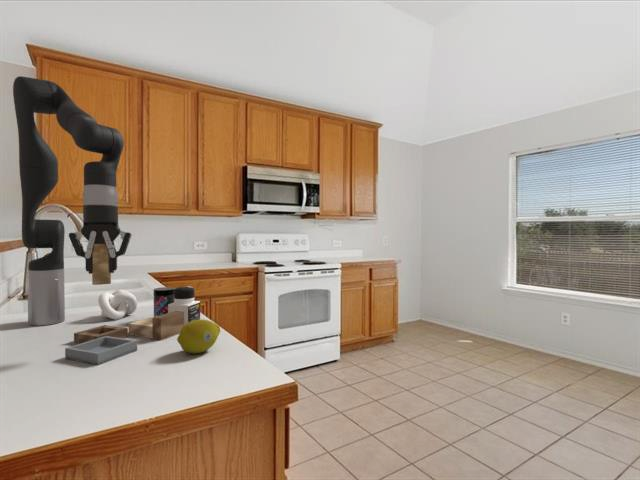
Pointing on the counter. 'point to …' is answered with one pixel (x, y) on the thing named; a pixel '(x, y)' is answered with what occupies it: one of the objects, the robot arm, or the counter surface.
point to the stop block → (167, 325)
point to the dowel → (100, 265)
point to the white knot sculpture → (117, 304)
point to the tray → (100, 350)
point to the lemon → (198, 336)
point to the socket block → (100, 333)
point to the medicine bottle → (185, 304)
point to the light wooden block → (141, 328)
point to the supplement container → (162, 300)
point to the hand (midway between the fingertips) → (101, 272)
